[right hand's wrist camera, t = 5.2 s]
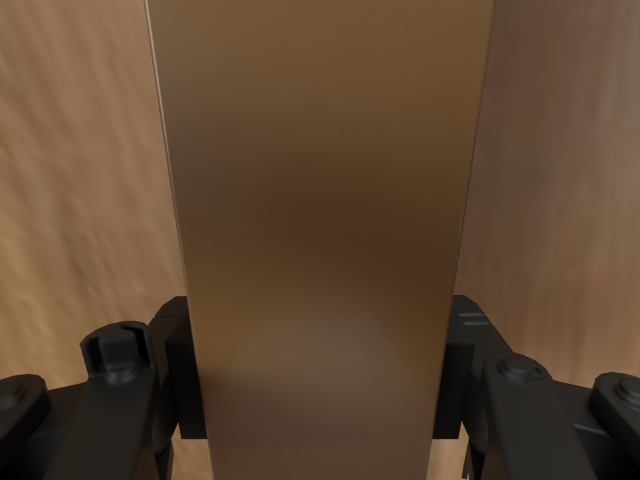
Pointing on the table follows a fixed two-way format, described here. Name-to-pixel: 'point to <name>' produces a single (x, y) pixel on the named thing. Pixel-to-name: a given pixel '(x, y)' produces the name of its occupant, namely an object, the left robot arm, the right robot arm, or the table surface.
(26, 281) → the table surface
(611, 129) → the table surface
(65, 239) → the table surface
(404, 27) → the post
